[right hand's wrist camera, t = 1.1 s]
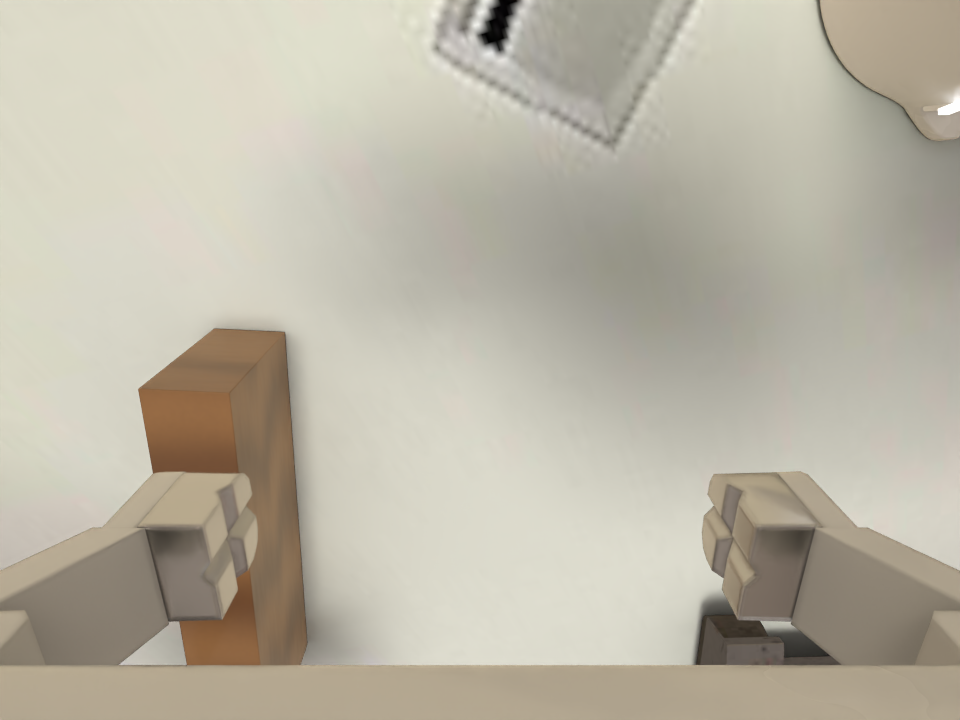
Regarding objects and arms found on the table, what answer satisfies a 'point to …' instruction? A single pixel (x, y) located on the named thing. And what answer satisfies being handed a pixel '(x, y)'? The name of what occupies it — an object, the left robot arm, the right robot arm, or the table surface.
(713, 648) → the toy
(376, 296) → the table surface
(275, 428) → the bar
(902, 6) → the right robot arm
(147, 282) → the table surface
